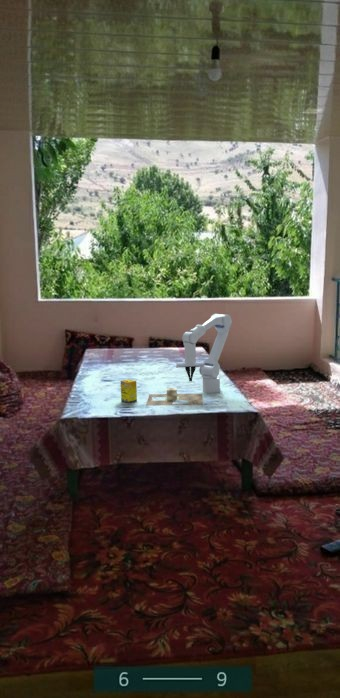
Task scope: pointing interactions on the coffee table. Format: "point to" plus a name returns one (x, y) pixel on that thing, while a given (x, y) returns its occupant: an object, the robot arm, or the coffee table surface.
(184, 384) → the coffee table surface
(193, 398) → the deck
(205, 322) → the robot arm
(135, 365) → the coffee table surface
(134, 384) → the supplement box
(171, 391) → the block
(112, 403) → the coffee table surface
